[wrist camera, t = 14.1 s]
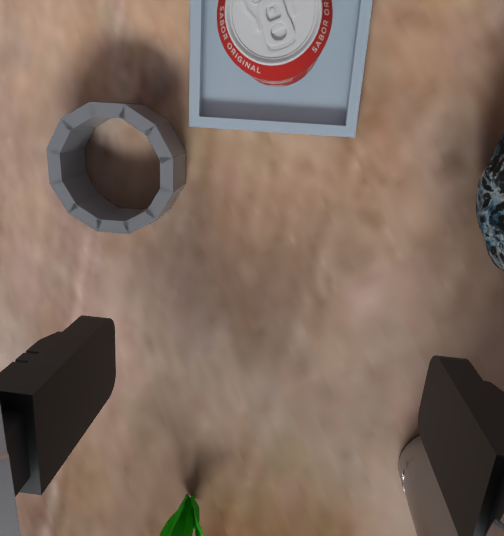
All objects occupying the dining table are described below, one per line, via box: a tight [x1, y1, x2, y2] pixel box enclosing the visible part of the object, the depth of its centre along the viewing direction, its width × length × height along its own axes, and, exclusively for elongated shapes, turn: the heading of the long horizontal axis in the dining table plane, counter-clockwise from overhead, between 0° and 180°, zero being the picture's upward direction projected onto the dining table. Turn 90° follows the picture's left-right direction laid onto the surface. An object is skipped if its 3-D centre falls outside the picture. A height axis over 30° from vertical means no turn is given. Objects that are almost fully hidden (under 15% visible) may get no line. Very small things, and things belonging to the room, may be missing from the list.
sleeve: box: [47, 102, 186, 234], centre depth 37 cm, size 10×10×4 cm
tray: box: [189, 0, 373, 137], centre depth 34 cm, size 13×13×2 cm
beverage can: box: [217, 0, 333, 87], centre depth 29 cm, size 6×6×12 cm
